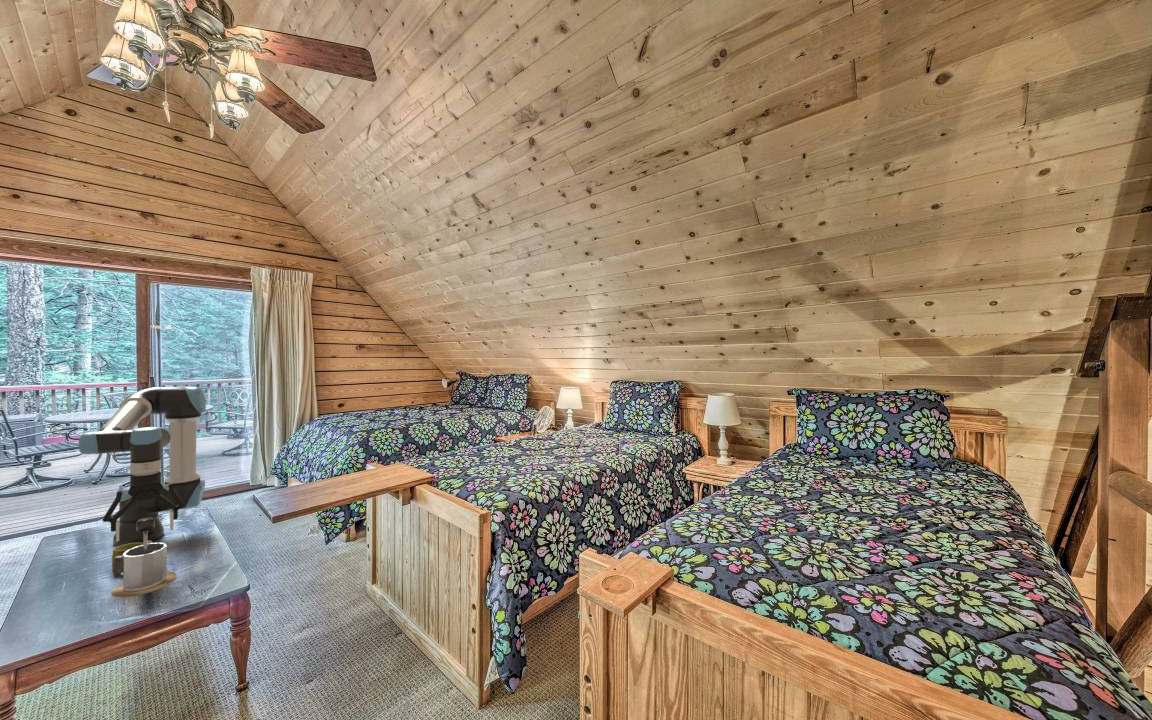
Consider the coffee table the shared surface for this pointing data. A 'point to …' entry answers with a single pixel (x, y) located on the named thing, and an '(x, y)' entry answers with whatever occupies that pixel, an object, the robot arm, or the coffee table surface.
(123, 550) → the mug
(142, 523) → the plunger
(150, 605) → the coffee table surface
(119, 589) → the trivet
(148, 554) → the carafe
